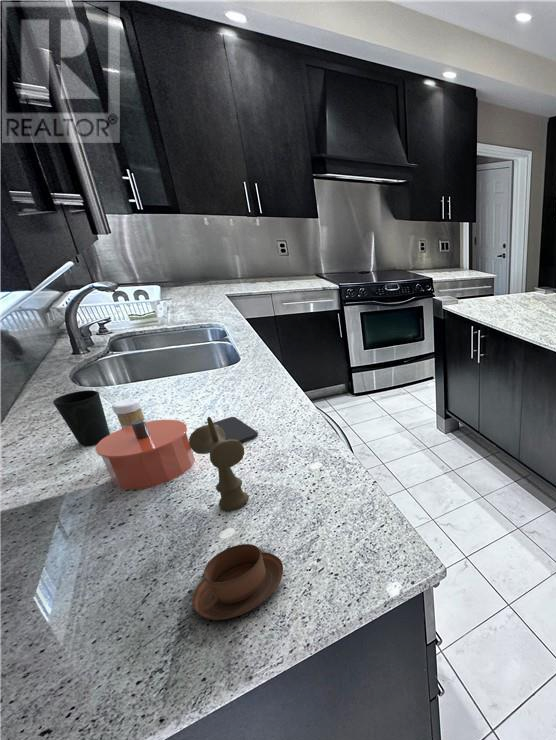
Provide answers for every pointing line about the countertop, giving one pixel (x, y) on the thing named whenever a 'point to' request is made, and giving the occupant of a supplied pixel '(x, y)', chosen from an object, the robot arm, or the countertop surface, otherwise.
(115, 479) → the pot
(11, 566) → the countertop surface
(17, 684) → the countertop surface
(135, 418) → the sprinkles bottle
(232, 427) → the phone
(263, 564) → the cup and saucer
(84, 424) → the cup
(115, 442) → the pot lid
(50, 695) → the countertop surface
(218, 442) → the kendama
